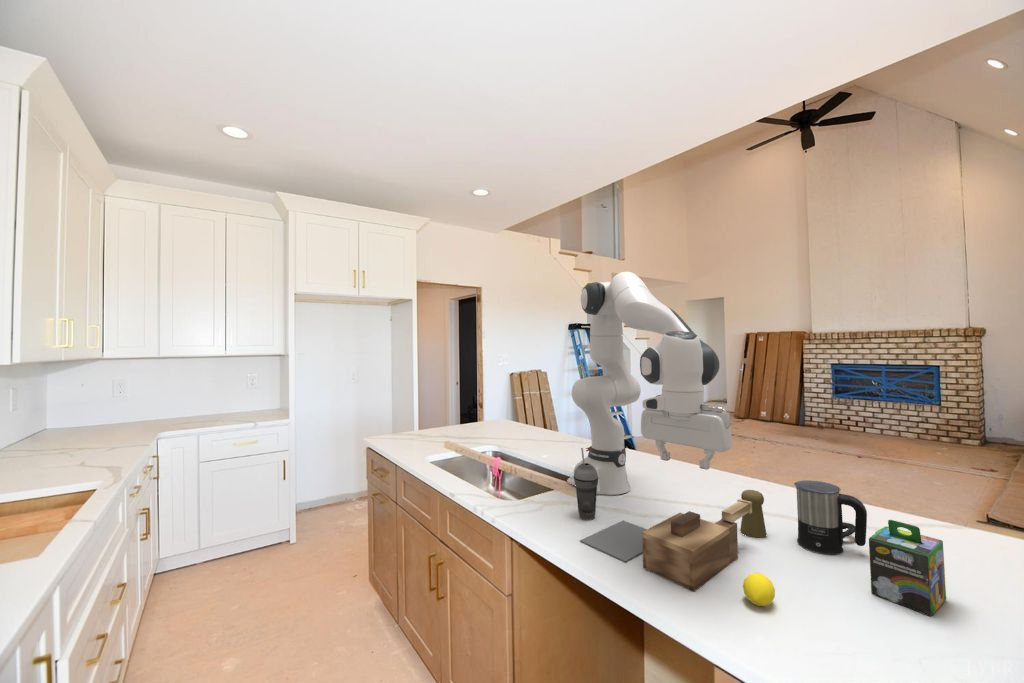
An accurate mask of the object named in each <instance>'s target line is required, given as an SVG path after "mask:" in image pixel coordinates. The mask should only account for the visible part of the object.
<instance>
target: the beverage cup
mask: <svg viewBox="0 0 1024 683" xmlns="http://www.w3.org/2000/svg"><path fill="white" fill-rule="evenodd" d="M580 450H581V458H582V460H583V464H580V465H579V466H578V467H577V468H576V470H575V472H574V471H573V476H574V477H573V478H574V481H575V485H576V487H575V493H576V500H577V508H578V509H577V511H578V517H579V519H581V520H583V521H591V520H595V518H596V512H597V511H596V510H597V509H596V507H597V496H598V494H597V485H598V479H599V478H598V473H597V471H596V469H595V468H594V466H592V465H591V464H588V463H585V461H584V459H585V454H584V447H581V448H580ZM582 460H581V461H582Z"/></svg>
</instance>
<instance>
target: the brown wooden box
mask: <svg viewBox="0 0 1024 683" xmlns="http://www.w3.org/2000/svg"><path fill="white" fill-rule="evenodd" d="M714 523H715V524H718V525H721V526H724V527H727V528H729V534H728V535H726V536H725V537H723V538H722V539H720V540H719V541H717V542H716V543H714V544H713V545H711V546H710V547H708V548H707V549H705V550H704V551H702V552H701V553H699V554H698V555H696V556H694V557H691V556H689V555H686V554H684V553H681V552H679V551H676V550H674V549H671V548H669V547H666V546H663V545H661V544H658V543H656V542H653V541H651V540H648V539H646V538H643V537H642V543H643V553H642V569H644V570H646V571H648V572H650V573H652V574H655V575H657V576H660V577H661V578H663V579H666V580H668V581H670V582H672V583H675V584H677V585H679V586H682V587H683V588H685V589H688V590H690V591H693V592H696V591H697V590H699V589H700V588H701V587H703V585H705V584H706V583H707V582H709V581H710V580H711V579H713V578H714V577H715V576H717V575H718V574H720V573H721V572H722V571H723V570H724V569H726V568H727V567H728V566H730V565H731V564H732V563H734V562H735V561H737V559H738V558H739V551H738V550H739V548H738V547H739V546H738V544H739V542H738V540H739V539H738V538H739V537H738V522H736V521H734V522H733V523H732V522H728V521H725V520H722V518H721V519H719V520H718V521H716V522H714Z"/></svg>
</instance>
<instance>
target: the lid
mask: <svg viewBox="0 0 1024 683" xmlns="http://www.w3.org/2000/svg"><path fill="white" fill-rule="evenodd" d="M715 523H716V522H710V521H707V520H704V519H701V514H699V513H696V512H692V511H690V510H688V511H687V512H685V513H682V512H678V513H677V514H674V515H672V516H670V517H669V518H667V519H665V520H662V521H661V522H659V523H657V524H655V525H653V526H651V527H649V528H646V529H647V530H645V531H643V532H642V537H643V538H646V539H648V540H651V541H653V542H656V543H658V544H661V545H663V546H666V547H669V548H671V549H674V550H676V551H679V552H681V553H684V554H686V555H689V556H691V557H694V556H696V555H698V554H699V553H701V552H702V551H704V550H705V549H707V548H708V547H710V546H711V545H713V544H714V543H716V542H717V541H719V540H720V539H722V538H723V537H725V536H726V535H728V534H729V528H727V527H724V526H721V525H718V524H715Z"/></svg>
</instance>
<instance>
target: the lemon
mask: <svg viewBox="0 0 1024 683" xmlns="http://www.w3.org/2000/svg"><path fill="white" fill-rule="evenodd" d="M742 588H743V593H744V595H745V597H746V598H747V600H748V601H749V602H751V603H752V604H753V605H756V606H758V607H768V606H769V605H770V604H772V602H773V601H774V599H775V597H776V596H775V595H776V589H775V587H774V584H773V582H772V580H771V579H770V578H769V577H768V576H766V575H764V574H762V573H759V572H758V573H757V572H753V573H751V574H748V575H747V576H745V578H744V580H743V584H742Z"/></svg>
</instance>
